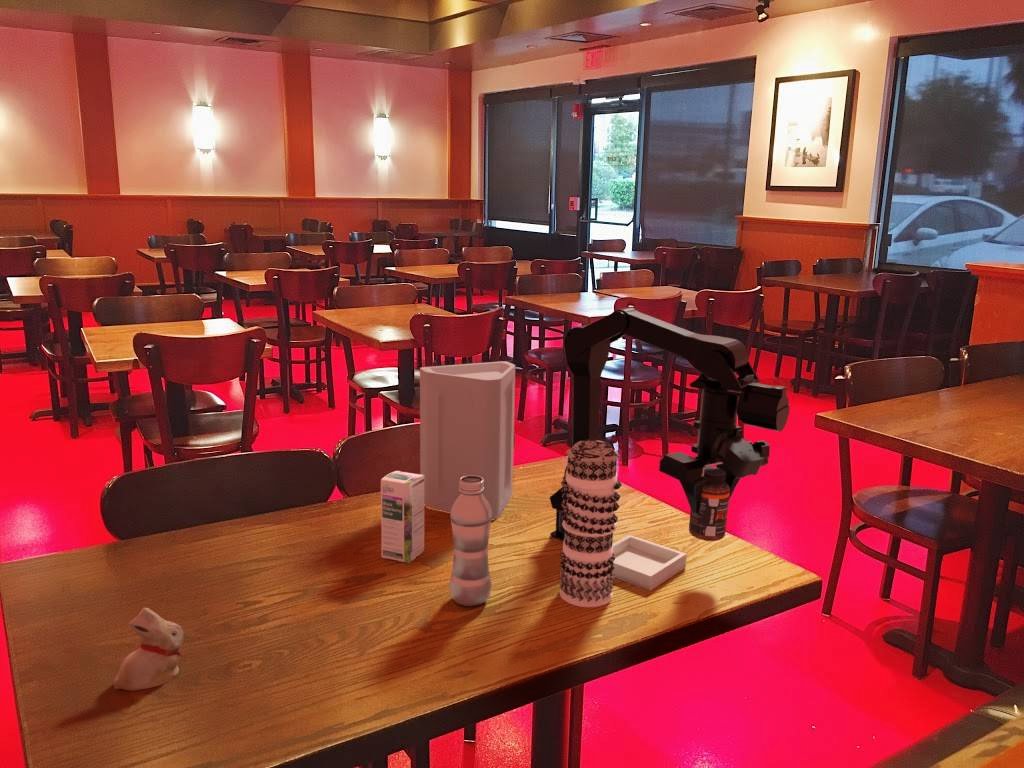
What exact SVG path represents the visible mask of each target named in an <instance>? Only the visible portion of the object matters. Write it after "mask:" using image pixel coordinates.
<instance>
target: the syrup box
mask: <svg viewBox="0 0 1024 768" xmlns="http://www.w3.org/2000/svg"><path fill="white" fill-rule="evenodd" d="M380 508H381V509H380V513H381V514H380V515H381V516H380V519H381V520H380V521H381V523H380V524H381V525H380V527H381V547H380V548H381V556H380V557H381V558H382V559H388V560H393V561H396V560H397V561H396V562H401V563H402V562H403V563H405V562H406V563H405V564H410V563H412V562H413V561H414V560H415V559H417V558H418V557H419V556H420V555H422V554H423V551H425V507H424V475H420V474H419V473H412V472H406V471H400V470H395V471H391V472H390V473H388V474H386V475H385V476H384V477H382V478H381V479H380ZM417 556H418V557H417ZM416 557H417V558H416ZM411 561H412V562H411Z"/></svg>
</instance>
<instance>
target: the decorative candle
mask: <svg viewBox="0 0 1024 768" xmlns="http://www.w3.org/2000/svg"><path fill="white" fill-rule="evenodd" d="M565 454H566V456H567V462H566V463H567V464H566V466H567V468H568V469H567V471H566V476H564V475H563V476H562V480H561V481H560V484H561V487H562V486H563V489H562V490H561V493H562V498H563V502H562V504H561V506H562V507H563V511H562V512H561V514H562V515H563V516H562V519H563V523H562V526H563V527H564V529H565V539H564V541H563V542H562V551H561V552H560V558H561V560H560V568H561V570H560V572H559V577H560V580H559V588H560V590H559V595H560V598H561V599H562V600H563V601H565V602H566V603H568V604H570V605H573V606H576V607H579V608H580V607H582V608H600V607H602V606H606V605H607V604H609V602H611V601H612V600H613V595H614V594H613V591H612V590H614V585H613V584H614V582H613V581H614V580H615V577H613V573H612V572H613V570H614V566H613V565H614V564H613V561H614V560H615V557H614V553H613V543H614V542H613V539H614V532H615V531H616V529H617V521H618V519H619V517H618V515H616V514H615V513H614V512H616V511H618V509H619V508H620V505H619V503H618V501H619V500H620V498H621V495H620V493H619V492H617V491H616V490H619V489H620V488H621V486H622V485H623V484H622V482H621V481H620V480H618V472H617V465H618V459H619V458H620V454H619V453H618V451H616V450H615V449H614V447H613V446H612V445H611V444H610V443H608V442H605V441H603V440H600V439H599V440H583V441H579V442H577V443H575V444H574V446H573V447H571V448H570V449H567V451H566V452H565ZM566 482H567V484H566ZM566 491H567V494H566V493H565V492H566ZM566 504H567V506H566Z"/></svg>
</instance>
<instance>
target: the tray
mask: <svg viewBox="0 0 1024 768" xmlns="http://www.w3.org/2000/svg"><path fill="white" fill-rule="evenodd" d="M612 543H613V553H614V557H615V560H614V561H613V564H614V565H613V566H614V570H613V572H612V573H613V577H614V579H618V580H620V581H624V582H626V583H628V584H632V585H633V586H636V587H639V588H642V589H645V590H648V591H652V590H653V589H655V588H657V587H658V586H660V585H661V584H662V583H664V582H665V581H667V580H668V579H670V578H672V577H673V576H675V575H676V574H677V573H679V572H681V571H682V570H684V569H685V568H686V567H687V553H685V552H682V551H681V550H676V549H674V548H671V547H668V546H664V545H662V544H658V543H656V542H652V541H650V540H646V539H643V538H640V537H637V536H634V535H631V534H627V535H625V536H624V537H623V538H620V539H619V540H617V541H615V542H612Z"/></svg>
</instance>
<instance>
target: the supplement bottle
mask: <svg viewBox="0 0 1024 768" xmlns="http://www.w3.org/2000/svg"><path fill="white" fill-rule="evenodd" d="M704 477H707V478H709V479H710V480H709V481H707V482H706V483H705V484H704V485H703V488H702V495H701V502H700V507H699V511H698V513H697V514H695V513H693V512H692V511H691V510H690V511H689V512H690V513H689V523H688V532H689V534H690V536H692V537H694V538H696V539H698V540H701V541H706V542H717V541H720V540H722V539H724V538H725V536H726V529H727V521H728V515H729V514H728V512H729V505H730V504H729V502H730V499H729V495H730V487H729V485H728V484H727V483H726V482H725V479H726V478H725V477H726V472H725V471H724V470H723V469H720V468H717V467H714V466H710V467H705V469H704Z"/></svg>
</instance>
